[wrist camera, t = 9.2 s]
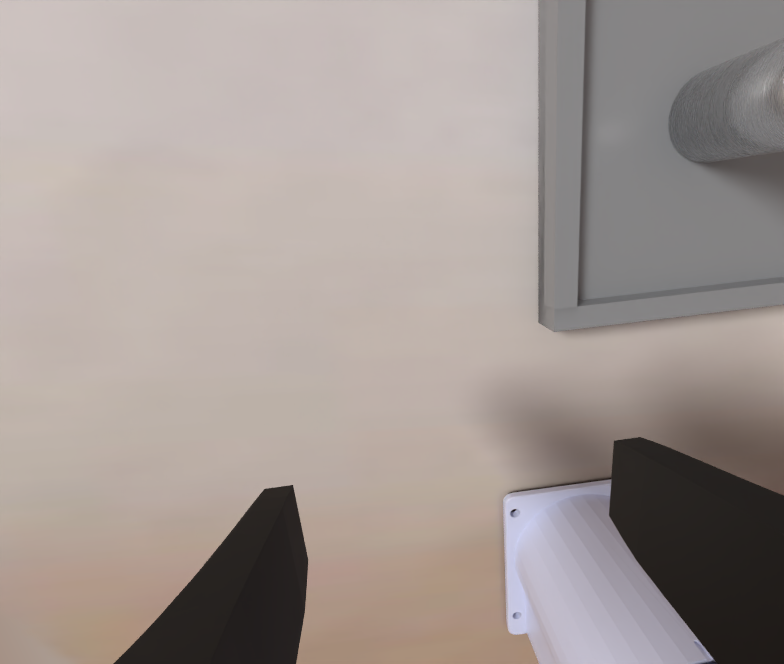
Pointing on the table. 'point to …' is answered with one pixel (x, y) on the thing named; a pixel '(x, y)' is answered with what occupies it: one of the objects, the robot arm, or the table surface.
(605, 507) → the robot arm
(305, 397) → the table surface
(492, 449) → the table surface
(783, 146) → the steel pin
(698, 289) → the tray
